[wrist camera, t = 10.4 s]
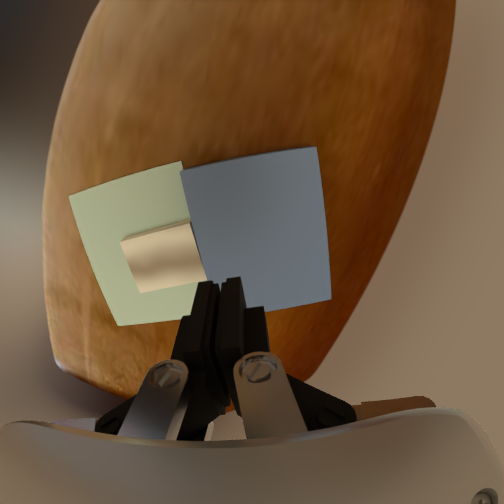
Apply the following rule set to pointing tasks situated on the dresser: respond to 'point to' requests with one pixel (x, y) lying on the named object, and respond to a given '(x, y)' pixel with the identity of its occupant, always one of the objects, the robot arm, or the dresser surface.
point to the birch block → (164, 256)
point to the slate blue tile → (263, 225)
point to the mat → (127, 223)
